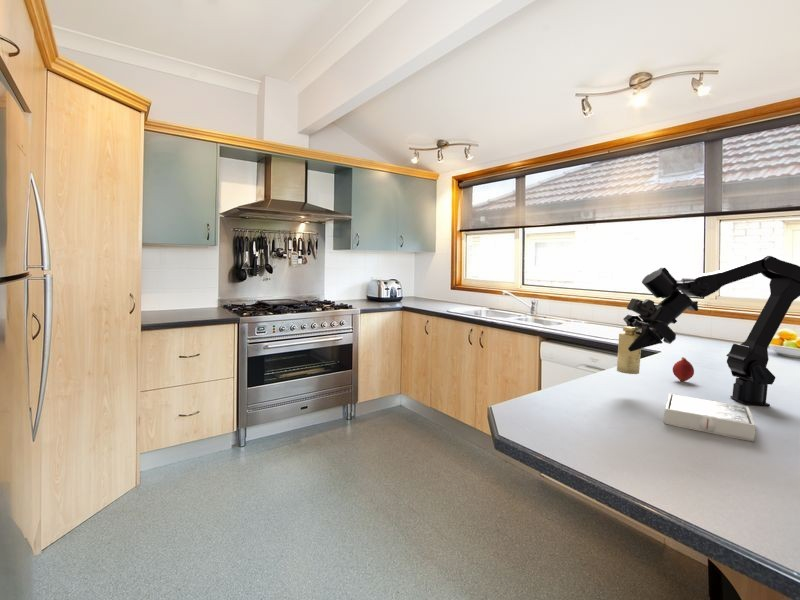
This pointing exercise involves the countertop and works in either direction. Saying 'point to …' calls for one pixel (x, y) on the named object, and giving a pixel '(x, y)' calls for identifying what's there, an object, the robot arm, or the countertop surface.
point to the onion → (683, 370)
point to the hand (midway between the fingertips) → (624, 348)
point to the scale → (710, 422)
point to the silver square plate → (709, 408)
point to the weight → (628, 352)
